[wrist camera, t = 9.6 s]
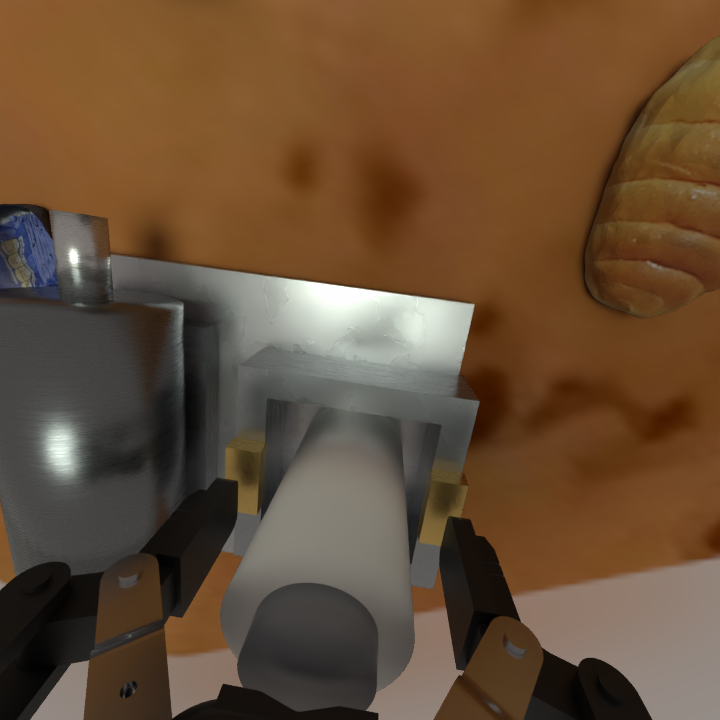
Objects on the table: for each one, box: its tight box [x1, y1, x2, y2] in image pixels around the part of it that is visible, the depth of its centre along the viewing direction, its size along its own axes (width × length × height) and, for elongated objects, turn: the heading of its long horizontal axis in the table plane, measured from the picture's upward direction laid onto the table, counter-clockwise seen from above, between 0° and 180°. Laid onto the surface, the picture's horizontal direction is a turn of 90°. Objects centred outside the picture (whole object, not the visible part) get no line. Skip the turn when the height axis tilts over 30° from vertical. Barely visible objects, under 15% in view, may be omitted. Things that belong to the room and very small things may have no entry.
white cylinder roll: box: [220, 408, 415, 712], centre depth 12 cm, size 5×5×10 cm
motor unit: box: [0, 210, 480, 589], centre depth 15 cm, size 19×18×7 cm
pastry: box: [585, 36, 720, 318], centre depth 13 cm, size 9×7×4 cm
